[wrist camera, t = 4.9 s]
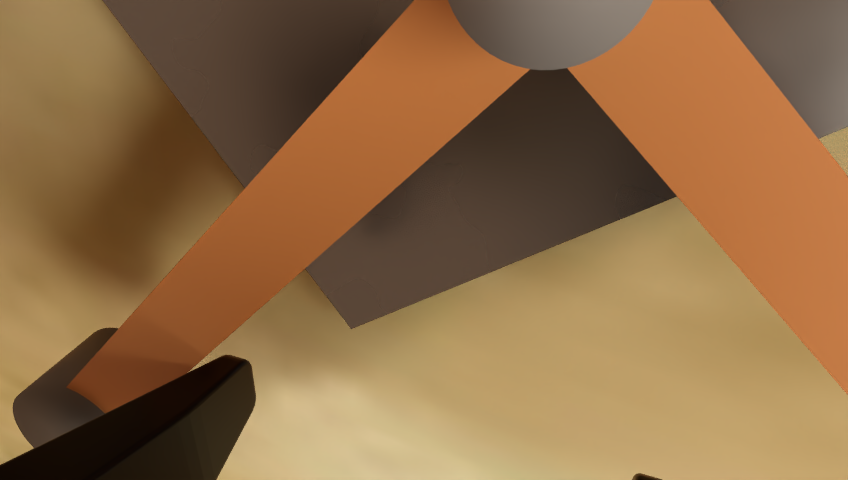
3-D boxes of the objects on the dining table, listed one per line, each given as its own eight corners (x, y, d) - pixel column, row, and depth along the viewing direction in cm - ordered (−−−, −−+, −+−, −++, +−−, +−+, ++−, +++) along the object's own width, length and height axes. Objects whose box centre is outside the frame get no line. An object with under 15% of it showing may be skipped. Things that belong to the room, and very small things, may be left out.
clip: (361, 512, 16) (279, 701, 12) (132, 307, 14) (-39, 450, 11) (925, 248, 9) (1143, 506, 5) (580, -197, 7) (533, -287, 4)
